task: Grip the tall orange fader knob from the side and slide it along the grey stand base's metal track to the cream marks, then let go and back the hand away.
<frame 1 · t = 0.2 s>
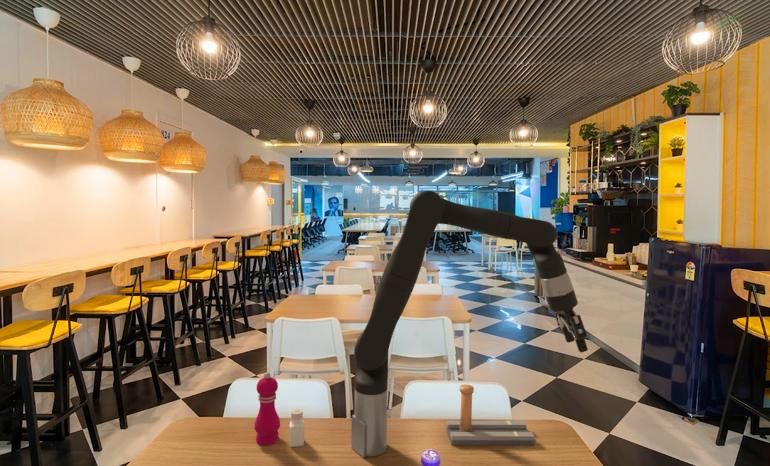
hand: (577, 346, 118), 31 cm above the table, tool tilted 20°, fingers open, 8 cm apart
fader: (466, 409, 128), point 8 cm above the table, slide at -7.0 cm
grey stand base: (488, 437, 128), on the table
pepper shaker: (296, 444, 124), on the table
pepper mill: (267, 440, 125), on the table
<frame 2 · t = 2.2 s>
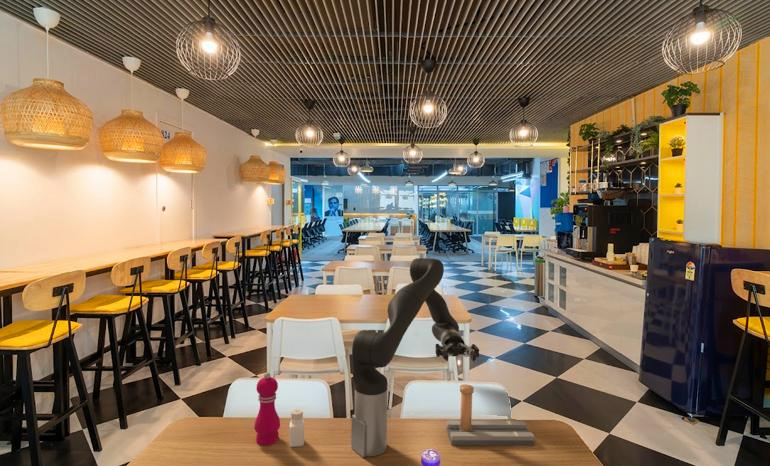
hand: (460, 358, 138), 20 cm above the table, tool horizontal, fingers open, 8 cm apart
nothing on the table moved.
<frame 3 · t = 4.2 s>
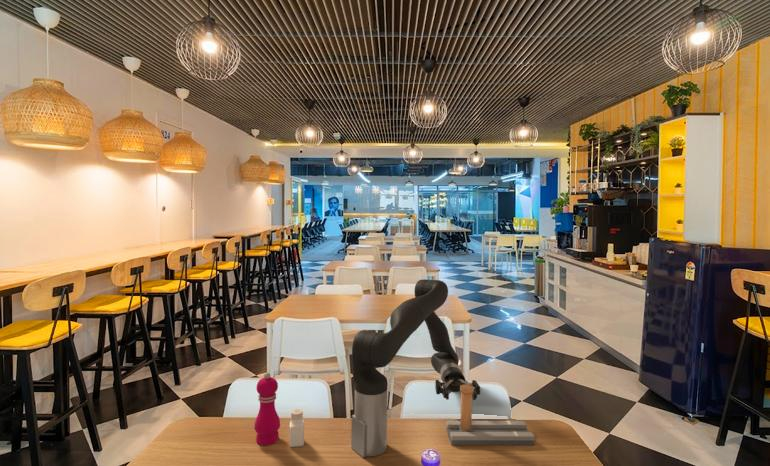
hand: (461, 396, 135), 9 cm above the table, tool horizontal, fingers open, 8 cm apart
nothing on the table moved.
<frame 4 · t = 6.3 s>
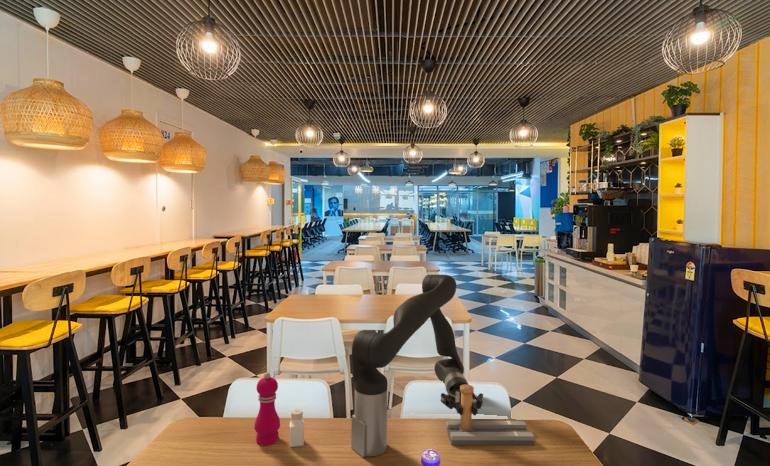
hand: (468, 412, 125), 9 cm above the table, tool horizontal, fingers closed on fader, 3 cm apart
fader: (466, 409, 128), point 8 cm above the table, slide at -7.0 cm, touching gripper
everything else where it was.
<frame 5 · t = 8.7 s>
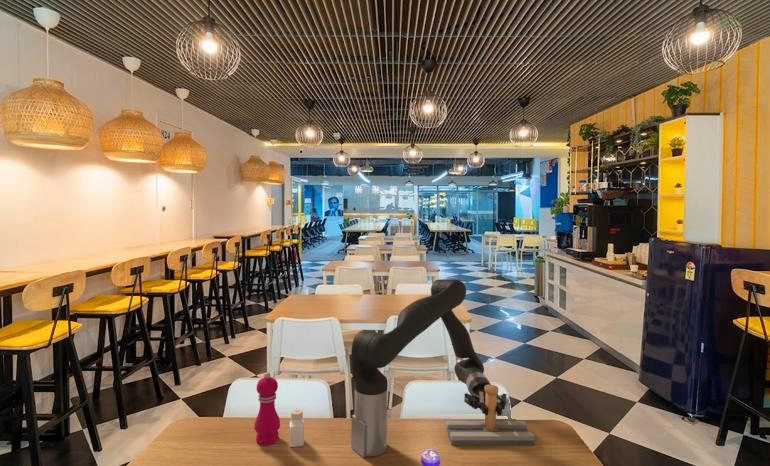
hand: (493, 412, 125), 9 cm above the table, tool horizontal, fingers closed on fader, 3 cm apart
fader: (490, 409, 128), point 8 cm above the table, slide at 0.3 cm, touching gripper
everything else where it was.
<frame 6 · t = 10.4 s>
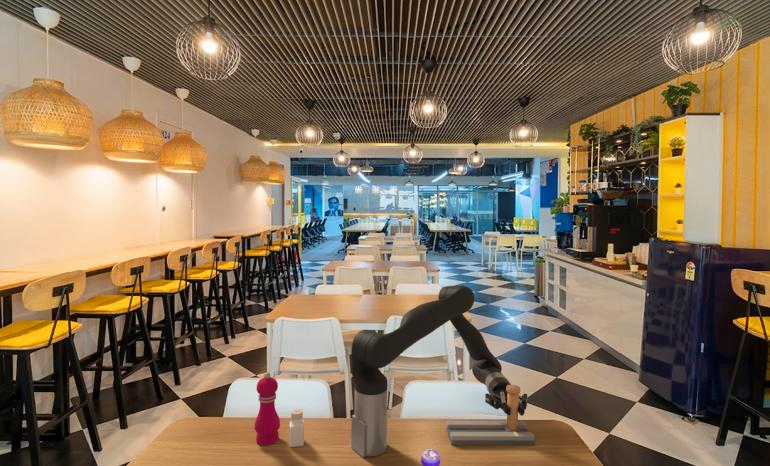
hand: (515, 412, 125), 9 cm above the table, tool horizontal, fingers closed on fader, 3 cm apart
fader: (512, 409, 128), point 8 cm above the table, slide at 6.9 cm, touching gripper
everything else where it was.
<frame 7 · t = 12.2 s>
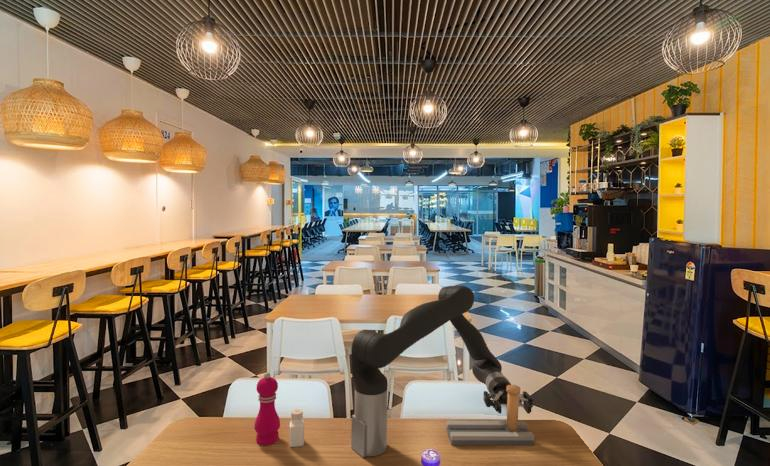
hand: (514, 410, 126), 9 cm above the table, tool horizontal, fingers open, 8 cm apart
fader: (512, 409, 128), point 8 cm above the table, slide at 6.9 cm
everything else where it was.
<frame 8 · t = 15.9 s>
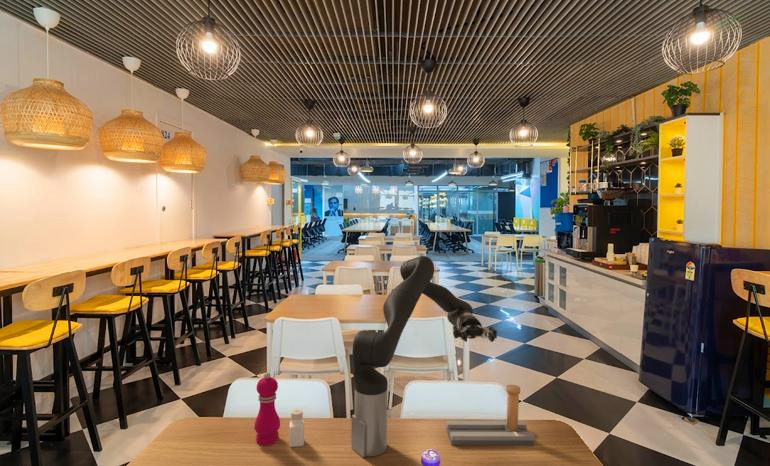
hand: (479, 338, 139), 26 cm above the table, tool horizontal, fingers open, 8 cm apart
nothing on the table moved.
at the end: fader slide at 6.9 cm; the gripper is holding nothing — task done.
